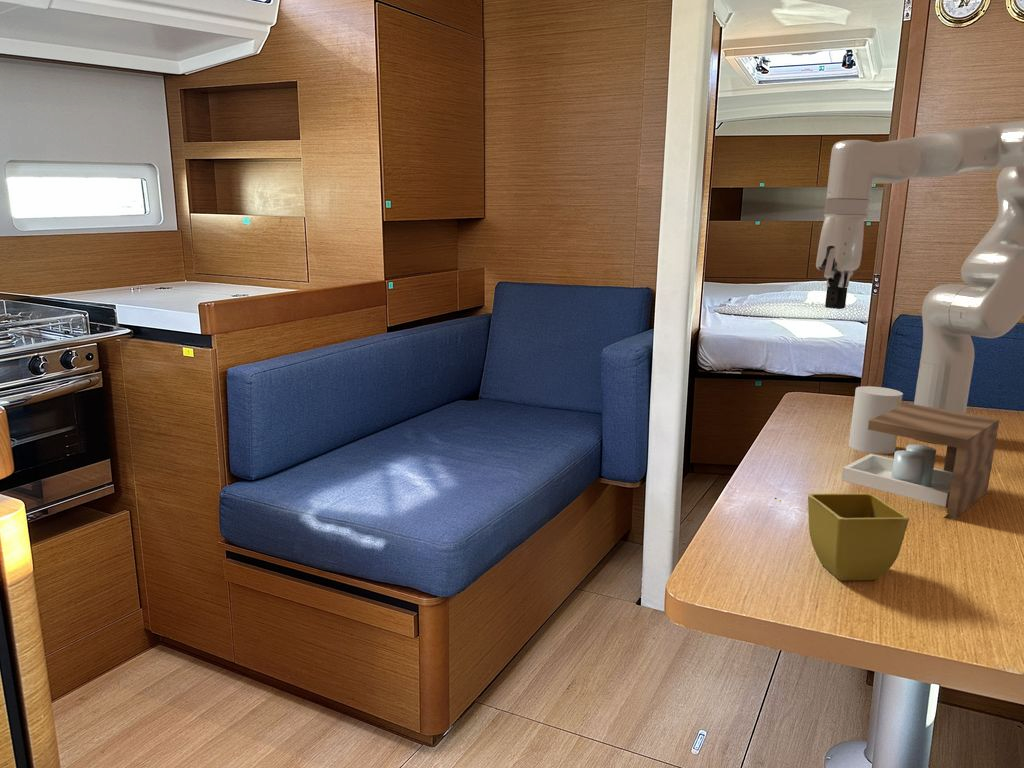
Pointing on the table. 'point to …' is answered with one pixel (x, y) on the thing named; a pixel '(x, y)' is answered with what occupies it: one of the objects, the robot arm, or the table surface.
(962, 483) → the counter
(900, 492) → the tray
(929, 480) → the grey rounded cylinder
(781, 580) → the table surface
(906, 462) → the blue-grey rounded cylinder
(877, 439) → the white cylinder
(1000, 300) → the robot arm
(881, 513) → the flower pot
